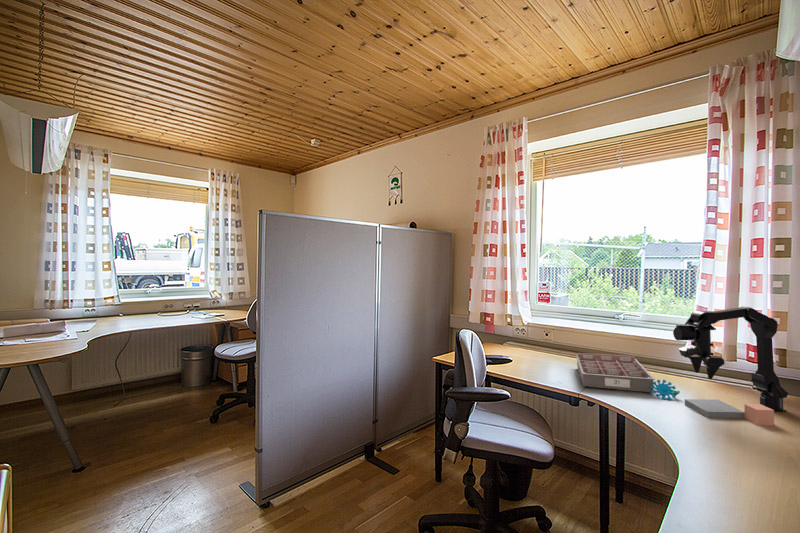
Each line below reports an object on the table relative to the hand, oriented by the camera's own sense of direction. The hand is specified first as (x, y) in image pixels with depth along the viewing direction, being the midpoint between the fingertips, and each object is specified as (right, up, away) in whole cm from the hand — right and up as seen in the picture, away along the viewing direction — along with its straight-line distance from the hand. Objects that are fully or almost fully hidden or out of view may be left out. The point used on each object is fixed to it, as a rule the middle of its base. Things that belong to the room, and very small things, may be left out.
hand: (703, 375), depth 160 cm
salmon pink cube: (+10, -14, -14) cm, 23 cm away
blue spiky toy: (-7, -15, +14) cm, 21 cm away
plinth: (+2, -14, -3) cm, 15 cm away
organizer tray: (-17, -15, +41) cm, 47 cm away
